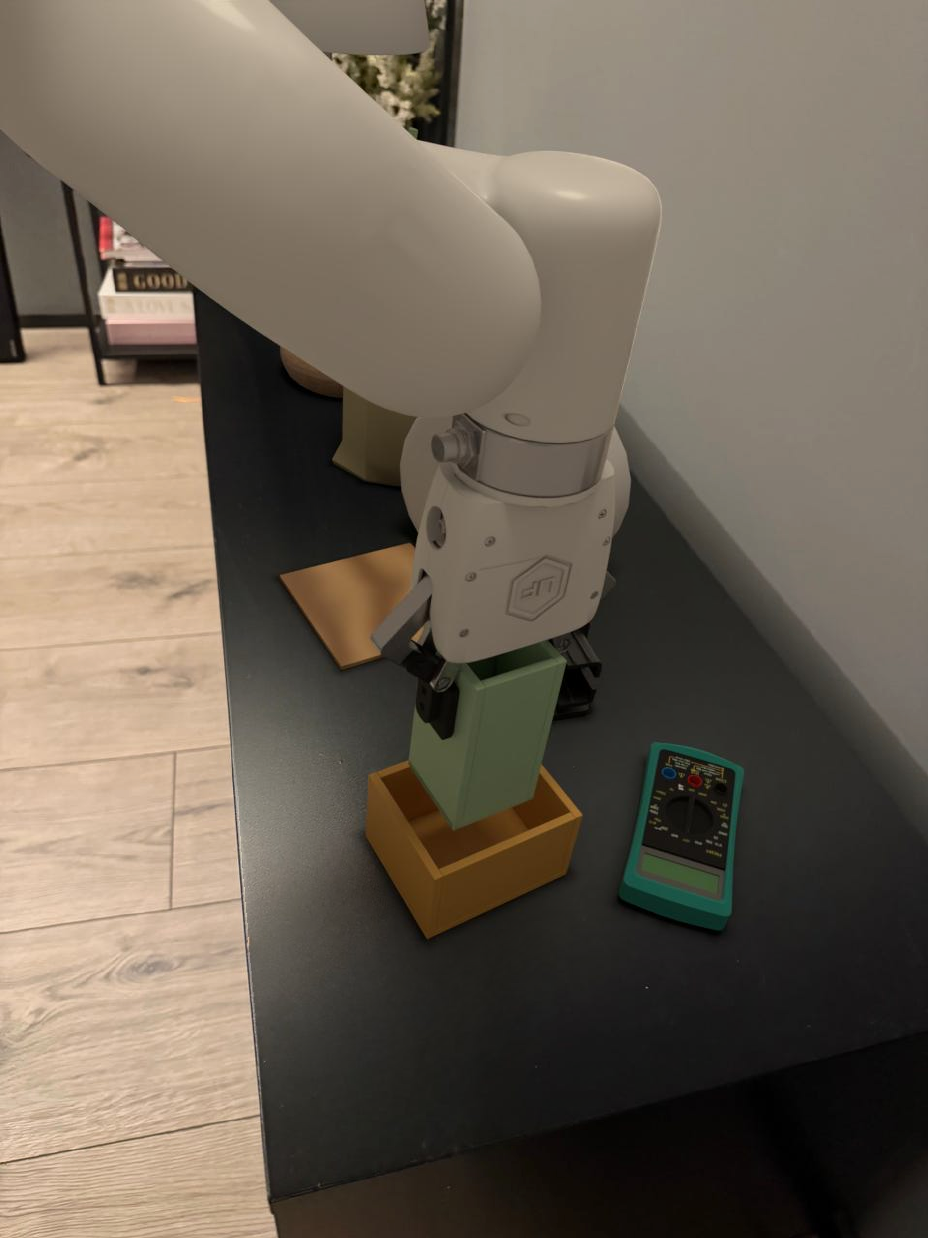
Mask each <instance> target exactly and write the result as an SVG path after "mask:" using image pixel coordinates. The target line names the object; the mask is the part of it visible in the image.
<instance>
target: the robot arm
mask: <svg viewBox="0 0 928 1238" xmlns="http://www.w3.org/2000/svg"><path fill="white" fill-rule="evenodd" d="M0 130H1V132H3V133H4V134H5V135H6V136H7V137H8V138H9V139H10V140H11V141H12V142H14V143H15V145H16V146H18V147H19V148H20V149H21V150H22V151H23V152H24V153H25V154H27V155H28V156H29V157H30V158H32V160H34V161H35V162H36V163H37V164H39V165H40V166H41V167H42V168H44V169H45V170H46V171H47V172H49V173H50V174H52V175H53V176H55V177H56V178H57V179H59V180H60V181H62V182H63V183H64V184H66V186H68V187H69V188H70V189H72V190H73V191H74V192H76V193H77V194H78V195H80V196H81V197H83V198H84V199H85V200H86V201H87V202H89V203H90V204H92V205H93V207H95V208H97V209H98V210H99V211H100V212H102V213H103V214H104V215H105V216H106V217H108V218H109V219H110V220H112V221H113V222H114V223H115V224H116V225H118V226H119V227H120V228H121V229H123V230H124V231H125V233H127V234H128V235H130V236H131V237H132V238H133V239H135V240H136V241H137V242H138V243H140V244H141V245H142V246H143V247H144V248H146V249H147V250H148V251H150V252H151V253H152V254H153V255H154V256H156V257H157V258H158V259H159V260H161V261H162V262H163V263H164V264H165V265H167V266H168V267H170V269H172V270H173V271H175V272H176V273H177V274H178V275H179V276H181V277H182V278H183V279H185V280H186V281H188V283H190V284H192V285H193V286H194V287H195V288H197V289H198V290H199V291H201V292H202V293H203V294H205V295H206V296H207V297H209V298H210V299H211V300H213V301H214V302H215V303H217V304H218V305H219V306H221V307H222V308H224V309H225V310H226V311H228V312H229V313H230V314H232V315H233V316H235V317H236V318H238V319H239V320H240V321H242V322H244V323H245V324H246V325H248V326H250V327H251V328H252V329H254V330H255V331H257V332H258V333H259V334H261V335H262V336H264V337H266V338H267V339H269V340H271V341H272V342H273V343H275V344H277V346H281V347H283V348H285V349H286V350H288V351H290V352H291V353H293V354H294V355H296V356H297V357H299V358H301V359H302V360H304V361H305V362H307V363H308V364H310V365H311V366H313V367H314V368H316V369H318V370H319V371H321V372H322V373H324V374H325V375H327V376H328V377H330V378H332V379H333V380H335V381H336V382H338V383H340V384H341V385H343V386H344V387H346V388H348V389H349V390H351V391H352V392H354V393H356V394H357V395H359V396H361V397H362V398H364V399H366V400H368V401H370V402H371V403H374V404H376V405H378V406H380V407H383V408H385V409H388V410H391V411H394V412H398V413H401V414H404V415H407V416H415V417H424V418H439V417H451V416H453V420H452V428H451V429H448V430H447V431H446V432H445V433H440V434H435V435H433V437H432V440H431V450H432V454H433V456H434V459H435V460H436V461H437V462H438V463H439V465H438V468H437V471H436V474H435V476H434V479H433V482H432V485H431V488H430V491H429V494H428V498H427V501H426V504H425V508H424V512H423V516H422V520H421V524H420V528H419V533H418V532H417V533H418V534H417V538H416V543H415V547H414V548H415V554H414V559H413V566H412V573H411V580H410V592H409V594H408V595H407V596H406V597H405V598H404V599H403V600H402V601H401V602H400V604H399V605H398V606H397V607H396V608H395V609H394V610H393V611H392V612H391V613H390V614H389V615H388V616H387V618H386V619H385V620H384V621H383V622H382V623H381V624H380V625H379V626H378V627H377V628H376V629H375V630H374V632H373V633H372V634H371V636H370V641H371V642H372V644H373V645H374V646H375V648H376V649H377V650H378V652H379V653H380V655H381V656H382V657H383V659H386V660H388V661H390V662H391V663H393V664H395V665H397V666H400V667H402V668H404V669H405V671H406V672H407V673H409V674H410V675H411V676H414V677H415V678H417V682H418V683H417V684H416V691H417V692H415V700H416V701H414V707H415V706H416V710H417V713H418V715H419V716H420V718H421V719H422V721H423V722H424V723H429V724H430V725H431V726H432V728H433V729H434V730H435V732H436V733H437V735H438V736H439V737H440V739H441V740H445V739H448V738H451V737H452V734H453V731H454V725H455V718H456V712H457V705H458V698H459V689H458V687H457V686H456V684H455V683H454V682H453V681H454V679H455V678H456V676H457V674H458V672H459V670H460V668H461V666H462V665H463V663H469V662H474V661H478V660H482V659H485V658H489V657H492V656H496V655H499V654H502V653H506V652H509V651H512V650H516V649H519V648H522V647H526V646H529V645H532V644H535V643H538V642H541V641H544V640H548V641H549V642H550V643H551V645H552V646H553V647H554V648H555V649H556V650H557V651H558V652H559V653H560V654H562V653H564V652H566V651H567V650H568V649H569V648H570V647H571V645H572V636H571V635H572V634H573V633H574V632H575V631H576V630H577V629H579V628H581V627H582V626H584V625H585V624H587V623H588V622H589V623H590V622H591V621H592V620H593V618H594V617H595V616H596V613H597V610H598V608H599V605H600V603H601V601H602V600H604V599H605V598H606V597H607V596H608V595H609V593H610V592H611V591H612V590H613V589H614V588H615V587H616V586H617V585H616V584H617V580H616V579H615V578H614V577H613V575H612V574H610V572H609V571H608V570H607V569H608V565H609V559H610V553H611V549H612V548H611V547H612V539H613V537H612V533H613V525H614V512H615V480H614V468H613V466H612V464H611V463H610V462H609V461H608V460H607V459H606V458H607V454H608V450H609V445H610V441H611V437H612V433H613V429H614V426H615V424H616V419H617V415H618V411H619V406H620V403H621V398H622V395H623V389H624V385H625V381H626V378H627V373H628V368H629V364H630V361H631V356H632V352H633V349H634V343H635V339H636V336H637V335H636V334H637V330H638V327H639V322H640V318H641V315H642V310H643V305H644V301H645V297H646V292H647V289H648V284H649V280H650V276H651V272H652V267H653V264H654V259H655V255H656V252H657V251H656V250H657V247H658V243H659V237H660V232H661V227H662V222H663V205H662V199H661V196H660V193H659V191H658V189H657V187H656V186H655V185H654V183H653V182H652V181H651V180H650V179H649V178H648V177H647V176H645V175H644V174H642V173H641V172H639V171H638V170H636V169H634V168H632V167H630V166H628V165H625V164H624V163H621V162H617V161H614V160H611V159H607V158H603V157H599V156H595V155H589V154H586V153H585V154H584V153H578V152H569V151H559V150H532V151H526V152H519V153H516V154H512V155H499V154H491V153H484V152H479V151H473V150H468V149H463V148H457V147H452V146H447V145H442V144H437V143H433V142H429V141H424V140H419V139H417V140H416V139H415V138H414V137H413V136H412V135H411V134H410V133H409V132H408V131H409V130H407V129H406V128H405V127H404V126H403V125H402V124H401V123H400V122H398V121H397V120H396V119H395V118H394V117H393V116H392V115H391V114H390V113H388V112H387V110H385V109H384V108H383V107H382V106H381V105H380V104H379V103H378V102H377V101H375V100H374V99H373V98H372V97H371V96H370V95H369V94H368V93H367V92H366V91H365V90H364V89H363V88H362V87H361V86H359V85H358V84H357V82H355V81H354V80H353V79H352V78H350V76H349V75H347V73H346V72H345V71H343V70H342V69H341V68H340V67H339V66H338V65H337V64H336V63H335V62H334V61H333V60H332V61H331V60H330V59H329V58H328V57H327V56H326V55H325V54H324V53H323V52H322V51H321V50H320V49H318V48H317V47H316V46H315V45H314V44H313V43H312V42H311V41H310V40H309V39H308V38H307V37H306V36H305V35H304V34H303V33H302V32H301V31H300V30H299V29H298V28H296V27H295V26H294V25H293V24H292V23H291V22H290V21H289V20H288V19H287V18H286V17H285V16H284V15H283V14H282V13H281V12H280V11H279V10H278V9H277V8H276V7H275V6H274V5H273V4H272V3H271V2H270V1H269V0H0ZM427 621H428V622H427ZM426 622H427V624H426ZM425 624H426V626H425V628H424V630H423V632H422V634H421V636H420V638H419V640H418V642H415V641H413V640H412V637H413V636H414V635H415V634H416V633H417V632H418V631H419V630H420V629H421V628H422V627H423V626H424V625H425ZM437 651H438V652H439V653H440V654H441V655H442V657H441V659H440V657H439V656H437V655H436V652H437Z"/></svg>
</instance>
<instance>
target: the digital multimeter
mask: <svg viewBox="0 0 928 1238" xmlns="http://www.w3.org/2000/svg"><path fill="white" fill-rule="evenodd" d="M744 776H745V770H744V768H743V767H742V766H740V765H739V764H736V763H734V762H731V761H730V760H727V759H725V758H723V757H721V756H718V755H716V754H713V753H711V752H708V751H705V750H702V749H699V748H695V747H692V746H688V745H682V744H681V745H680V744H676V743H667V742H659V741H654V742H652V743H651V744H650V748H649V750H648V753H647V757H646V761H645V766H644V774H643V781H642V788H641V795H640V800H639V805H638V811H637V813H638V814H637V817H636V822H635V826H634V830H633V835H632V840H631V843H630V848H629V851H628V855H627V860H626V863H625V866H624V871H623V874H622V879H621V882H620V886H619V890H618V896H619V898H620V899H621V900H622V901H624V902H627V903H628V904H631V905H634V906H636V907H639V908H641V909H643V910H647V911H649V912H651V913H654V914H657V915H659V916H663V917H664V918H668V919H672V920H674V921H678V922H682V923H685V924H689V925H692V926H696V927H702V928H706V929H709V930H713V931H722V930H724V928H725V926H726V924H727V922H728V920H729V919H730V917H731V915H732V910H733V883H734V882H733V877H734V858H735V846H736V845H735V844H736V834H737V833H736V831H737V830H736V829H737V825H738V824H737V823H738V816H739V808H740V802H741V794H742V790H743V789H742V788H743V782H744Z"/></svg>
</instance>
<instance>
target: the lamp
mask: <svg viewBox="0 0 928 1238" xmlns="http://www.w3.org/2000/svg"><path fill="white" fill-rule="evenodd" d="M269 1H270V2H271V3H272V4H273V5H274V6H275V7H276V8H277V9H278V10H279V11H280V12H281V13H282V14H283V15H284V16H285V17H286V18H287V19H288V20H289V21H290V22H291V23H292V24H293V25H294V26H295V27H296V28H298V29H299V30H300V31H301V32H302V33H303V34H304V35H305V36H306V37H307V38H308V39H309V40H310V41H311V42H312V43H313V44H314V45H315V46H316V47H317V48H318V49H320V50H321V51H322V52H323V53H324V54H325V55H326V56H327V57H328V58H329V59H330V60H331V61H332V62H333V54H338V55H339V54H340V55H352V56H353V55H355V56H405V55H414V54H419V53H423V52H426V51H428V50H430V49H431V39H430V32H429V31H430V30H429V25H428V23H429V22H428V15H427V8H426V2H425V1H426V0H269Z"/></svg>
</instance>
